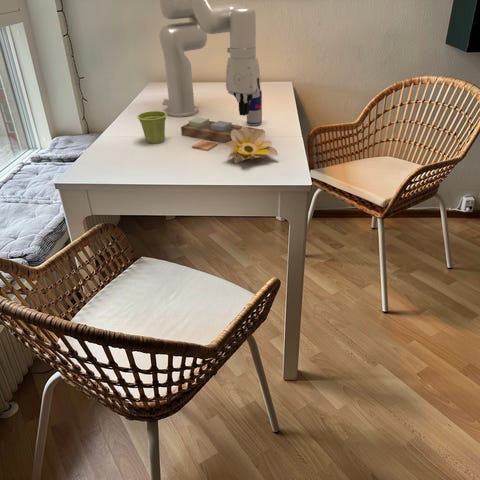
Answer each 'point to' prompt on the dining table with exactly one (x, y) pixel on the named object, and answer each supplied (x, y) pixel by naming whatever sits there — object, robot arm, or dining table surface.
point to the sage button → (199, 122)
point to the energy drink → (255, 111)
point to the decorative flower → (249, 145)
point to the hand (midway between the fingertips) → (244, 114)
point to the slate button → (221, 126)
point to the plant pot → (153, 125)
